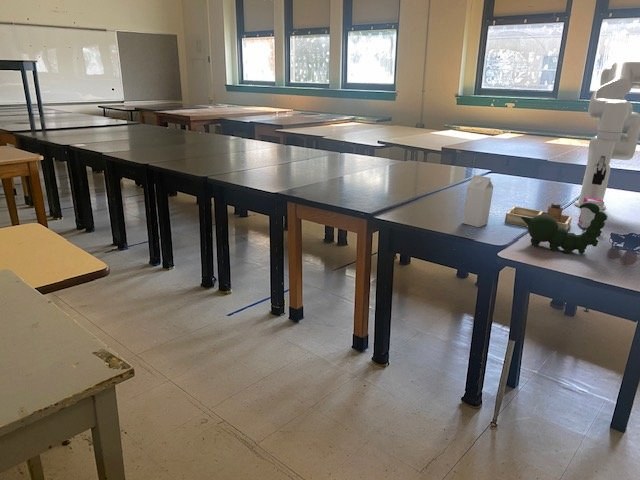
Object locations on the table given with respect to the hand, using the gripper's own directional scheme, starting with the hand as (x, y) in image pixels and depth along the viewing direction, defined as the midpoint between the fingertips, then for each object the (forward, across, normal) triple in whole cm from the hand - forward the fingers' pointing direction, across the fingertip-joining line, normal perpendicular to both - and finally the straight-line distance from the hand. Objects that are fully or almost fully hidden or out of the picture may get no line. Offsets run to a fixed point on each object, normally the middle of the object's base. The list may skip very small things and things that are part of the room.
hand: (597, 182), depth 182 cm
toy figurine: (+18, +34, -6) cm, 39 cm away
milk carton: (+18, +24, -37) cm, 48 cm away
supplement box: (+18, 0, 0) cm, 19 cm away
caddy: (+18, +8, -17) cm, 26 cm away
